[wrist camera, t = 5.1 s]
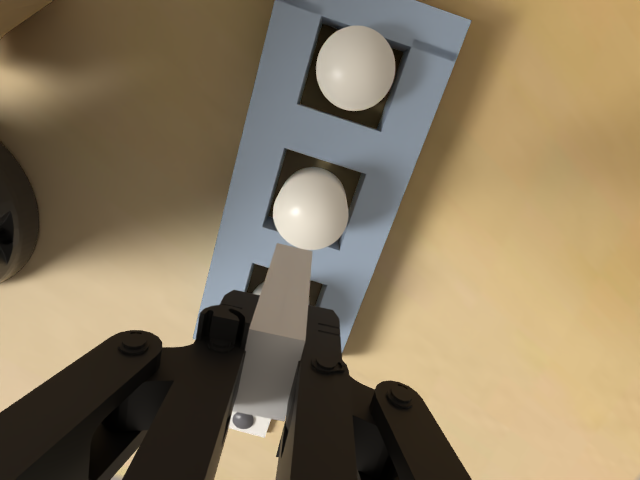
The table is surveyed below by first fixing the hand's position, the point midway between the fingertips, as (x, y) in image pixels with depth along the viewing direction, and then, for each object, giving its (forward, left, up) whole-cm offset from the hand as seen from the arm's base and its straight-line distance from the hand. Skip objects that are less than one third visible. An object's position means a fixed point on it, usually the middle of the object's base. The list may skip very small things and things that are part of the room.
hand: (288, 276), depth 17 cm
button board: (0, 0, -16) cm, 16 cm away
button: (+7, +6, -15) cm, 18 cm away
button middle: (0, 0, -13) cm, 13 cm away
